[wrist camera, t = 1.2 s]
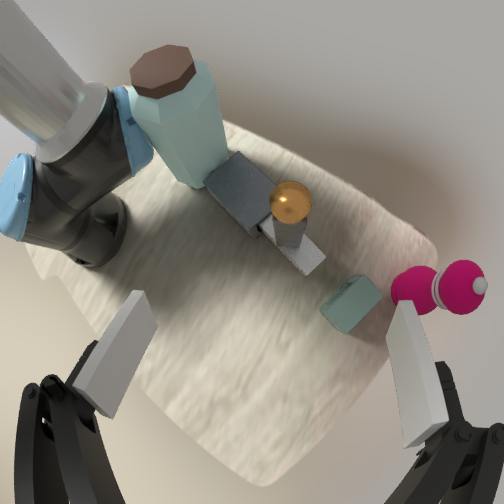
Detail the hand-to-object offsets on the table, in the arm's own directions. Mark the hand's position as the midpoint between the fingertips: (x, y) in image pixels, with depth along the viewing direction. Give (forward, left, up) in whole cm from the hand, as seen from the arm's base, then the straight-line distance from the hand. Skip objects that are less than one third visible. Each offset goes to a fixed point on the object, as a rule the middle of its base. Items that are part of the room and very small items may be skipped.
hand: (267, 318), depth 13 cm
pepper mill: (+13, +16, -28) cm, 35 cm away
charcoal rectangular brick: (-15, +7, -28) cm, 32 cm away
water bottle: (-26, +6, -28) cm, 38 cm away
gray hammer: (-9, +7, -26) cm, 29 cm away
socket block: (+7, +7, -28) cm, 30 cm away
